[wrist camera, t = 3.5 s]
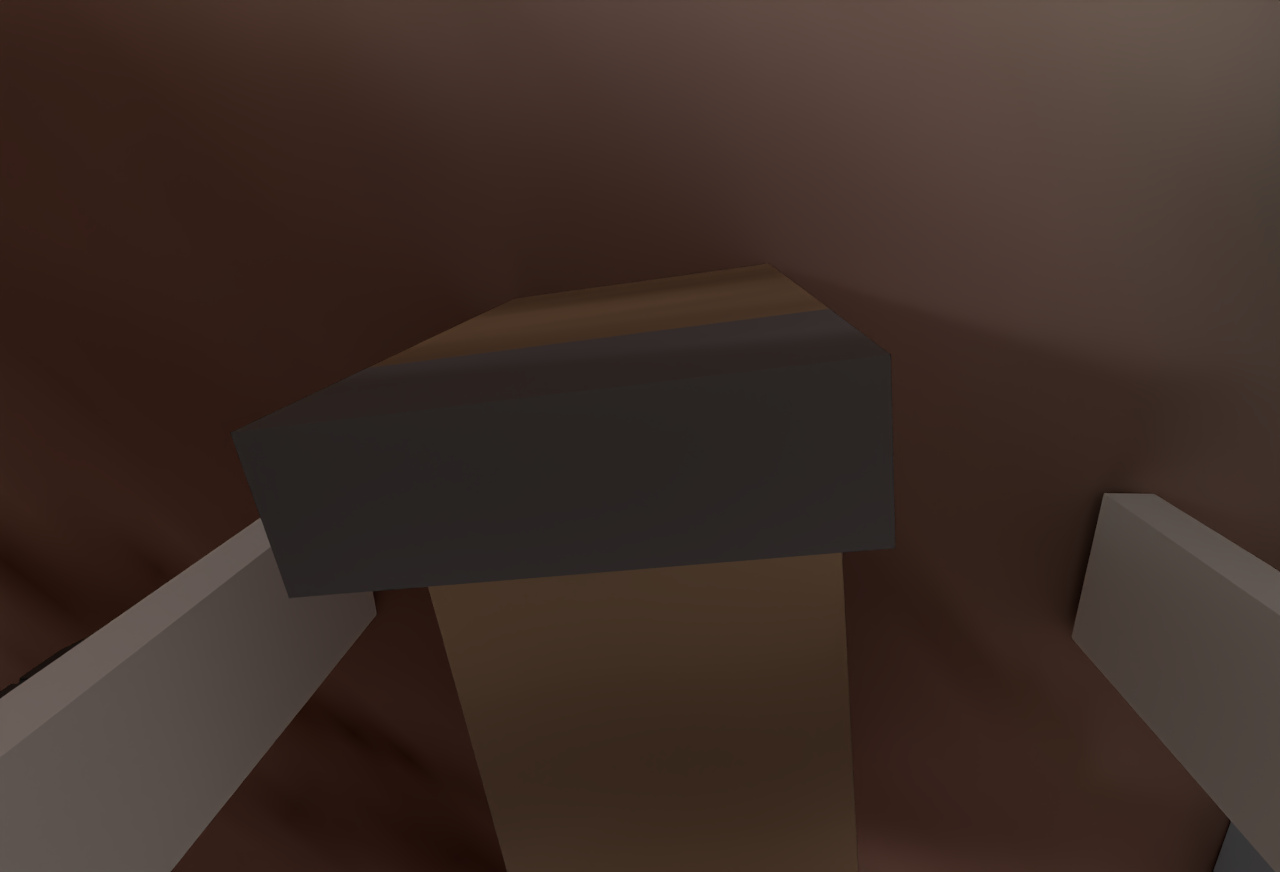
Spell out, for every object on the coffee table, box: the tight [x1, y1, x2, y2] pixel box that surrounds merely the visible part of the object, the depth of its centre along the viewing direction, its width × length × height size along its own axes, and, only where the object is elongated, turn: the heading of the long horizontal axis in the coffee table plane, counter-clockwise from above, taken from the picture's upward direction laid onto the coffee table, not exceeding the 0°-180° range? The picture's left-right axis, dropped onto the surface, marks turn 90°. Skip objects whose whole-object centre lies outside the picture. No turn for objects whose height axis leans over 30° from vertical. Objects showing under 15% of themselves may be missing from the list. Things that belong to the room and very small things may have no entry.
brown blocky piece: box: [231, 263, 895, 872], centre depth 8 cm, size 10×4×9 cm, turn 8°
